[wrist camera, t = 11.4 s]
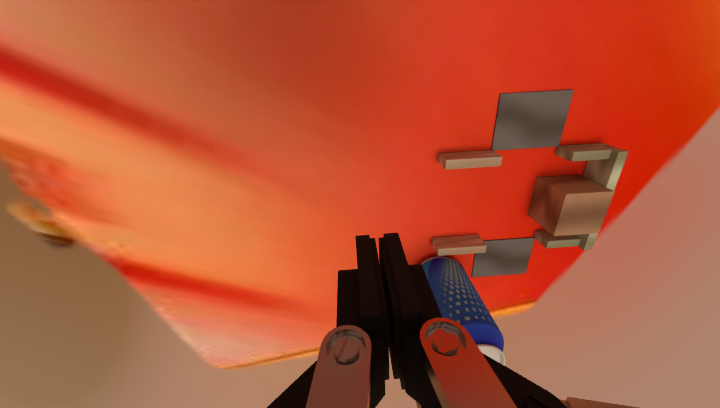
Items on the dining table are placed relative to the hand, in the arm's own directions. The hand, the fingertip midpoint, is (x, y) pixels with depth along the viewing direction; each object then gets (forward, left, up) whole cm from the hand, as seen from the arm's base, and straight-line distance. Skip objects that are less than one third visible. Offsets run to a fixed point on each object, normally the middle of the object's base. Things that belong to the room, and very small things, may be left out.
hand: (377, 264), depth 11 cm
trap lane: (+11, +22, -27) cm, 37 cm away
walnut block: (+11, +28, -27) cm, 41 cm away
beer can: (+24, +12, -27) cm, 38 cm away
